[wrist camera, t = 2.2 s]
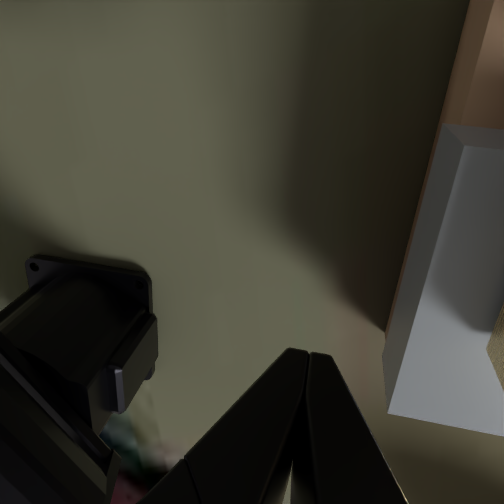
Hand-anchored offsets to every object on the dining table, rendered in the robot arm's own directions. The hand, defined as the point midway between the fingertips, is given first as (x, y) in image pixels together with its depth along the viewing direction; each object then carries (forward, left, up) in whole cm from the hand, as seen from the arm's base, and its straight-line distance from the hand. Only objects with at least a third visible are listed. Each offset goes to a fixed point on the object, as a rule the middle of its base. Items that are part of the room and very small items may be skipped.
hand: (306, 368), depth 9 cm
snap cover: (+6, -1, -8) cm, 10 cm away
